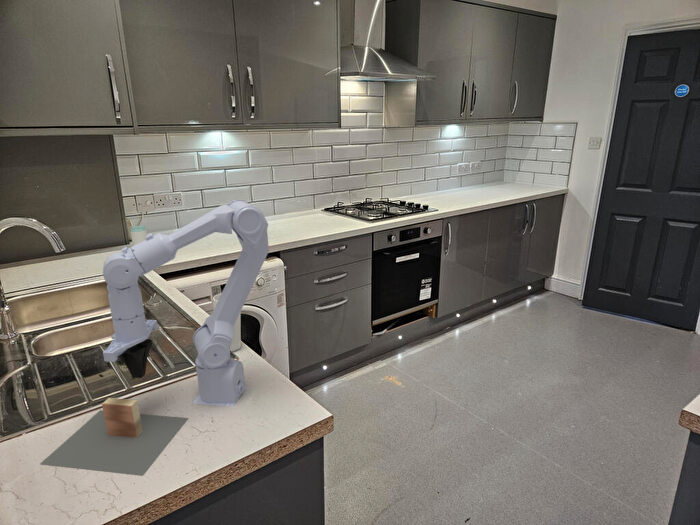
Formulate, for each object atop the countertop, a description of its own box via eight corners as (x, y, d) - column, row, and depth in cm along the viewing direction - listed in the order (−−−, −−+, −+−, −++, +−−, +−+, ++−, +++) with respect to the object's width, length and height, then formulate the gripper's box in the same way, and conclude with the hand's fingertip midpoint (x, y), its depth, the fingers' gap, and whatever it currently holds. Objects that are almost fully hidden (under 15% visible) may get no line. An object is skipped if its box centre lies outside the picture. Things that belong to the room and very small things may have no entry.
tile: (142, 431, 89) (137, 400, 87) (136, 437, 87) (130, 406, 85) (114, 428, 90) (108, 397, 88) (108, 435, 88) (101, 403, 86)
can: (152, 249, 223) (149, 225, 219) (142, 253, 216) (138, 228, 213) (140, 248, 225) (137, 224, 221) (130, 252, 218) (126, 227, 215)
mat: (189, 420, 93) (188, 418, 93) (143, 478, 78) (142, 475, 78) (100, 412, 96) (100, 410, 96) (40, 466, 81) (39, 464, 81)
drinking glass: (246, 342, 126) (242, 291, 122) (240, 354, 120) (235, 301, 115) (222, 342, 126) (217, 291, 122) (214, 354, 120) (208, 301, 115)
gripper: (132, 299, 96) (141, 357, 100) (83, 329, 82) (96, 394, 86) (162, 301, 95) (171, 359, 99) (118, 331, 81) (130, 397, 85)
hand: (138, 376), depth 92 cm, fingers closed
